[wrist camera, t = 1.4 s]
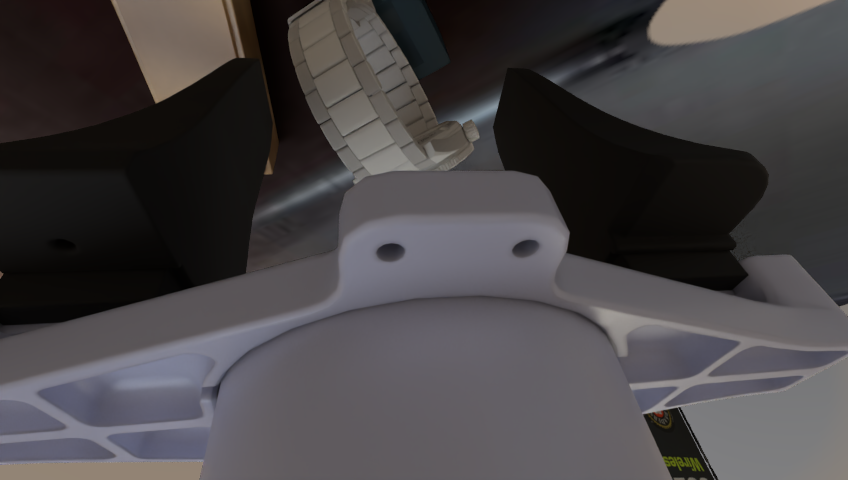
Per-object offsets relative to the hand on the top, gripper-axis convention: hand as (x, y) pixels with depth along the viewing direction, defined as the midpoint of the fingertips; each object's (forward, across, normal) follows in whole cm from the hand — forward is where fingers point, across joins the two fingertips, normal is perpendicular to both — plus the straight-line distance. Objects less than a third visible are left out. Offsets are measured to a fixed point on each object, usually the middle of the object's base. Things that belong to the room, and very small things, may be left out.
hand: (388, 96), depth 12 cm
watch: (+10, 0, +2) cm, 11 cm away
